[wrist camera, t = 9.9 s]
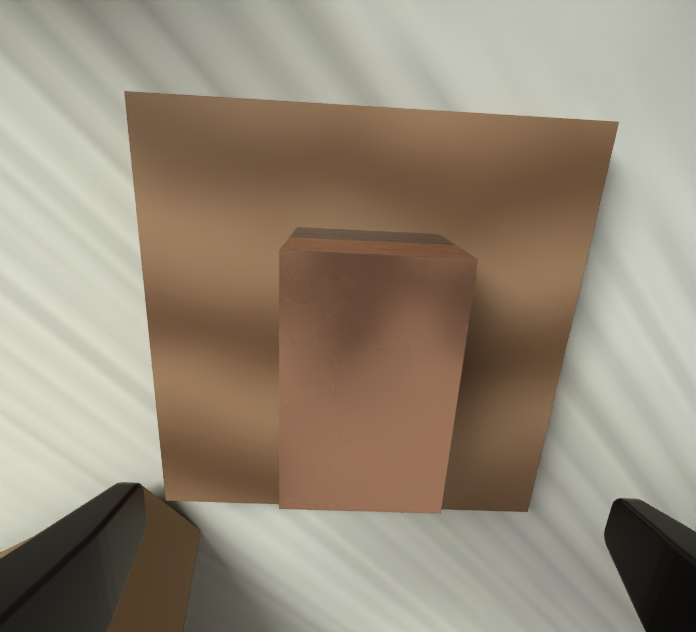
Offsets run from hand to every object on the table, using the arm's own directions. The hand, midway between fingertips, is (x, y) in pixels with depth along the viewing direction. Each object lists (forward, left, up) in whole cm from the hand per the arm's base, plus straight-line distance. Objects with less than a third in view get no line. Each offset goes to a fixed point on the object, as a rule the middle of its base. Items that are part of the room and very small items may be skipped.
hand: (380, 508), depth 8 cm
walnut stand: (0, 0, -11) cm, 11 cm away
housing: (0, 0, -9) cm, 9 cm away
